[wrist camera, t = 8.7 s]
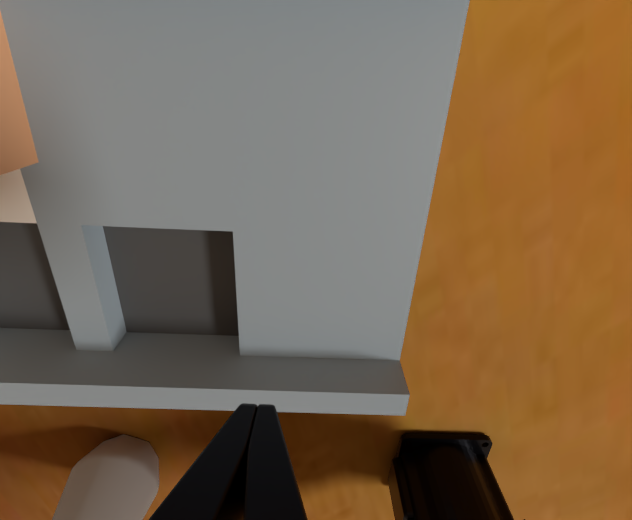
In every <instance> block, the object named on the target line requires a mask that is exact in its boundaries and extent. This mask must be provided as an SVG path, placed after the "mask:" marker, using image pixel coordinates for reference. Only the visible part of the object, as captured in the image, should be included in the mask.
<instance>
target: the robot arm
mask: <svg viewBox="0 0 632 520" xmlns="http://www.w3.org/2000/svg"><path fill="white" fill-rule="evenodd" d="M491 446H492V442H491V440H490V438H489V436H487V435H460V434H422V433H405V434H403V435H402V436H401V437H400V441H399V446H398V450H397V455H396V457H394V458H393V460H392V463H391V468H390V472H389V477H388V484H389V489H390V495H391V500H392V506H393V511H394V517H395V520H514V519H513V516H512V514H511V512H510V510H509V507H508V505H507V503H506V501H505V499H504V496H503V494H502V492H501V490H500V487H499V485H498V483H497V481H496V478H495V476H494V474H493V472H492V469H491V467H490V465H489V463H488V461H487V457H488V454H489V451H490V449H491ZM149 520H307V516H306V513H305V509H304V506H303V502H302V499H301V495H300V492H299V488H298V485H297V481H296V478H295V474H294V471H293V467H292V464H291V460H290V457H289V453H288V450H287V446H286V443H285V439H284V436H283V432H282V429H281V425H280V422H279V418H278V414H277V411H276V408H275V406H274V405H272V404H259V405H258V406H257V405H256V404H248V403H242V404H240V405H239V406H238V408H237V409H236V410H235V411H234V413H233V414H232V415H231V416H230V418H229V419H228V420H227V421H226V423H225V424H224V425H223V426H222V428H221V429H220V430H219V432H218V433H217V434H216V435H215V437H214V438H213V439H212V440H211V442H210V443H209V444H208V445H207V447H206V448H205V449H204V450H203V452H202V453H201V454H200V456H199V457H198V458H197V459H196V461H195V462H194V463H193V464H192V466H191V467H190V468H189V469H188V471H187V472H186V473H185V474H184V476H183V477H182V478H181V479H180V481H179V482H178V483H177V485H176V486H175V487H174V488H173V490H172V491H171V492H170V493H169V495H168V496H167V497H166V498H165V500H164V501H163V502H162V503H161V505H160V506H159V507H158V509H157V510H156V511H155V512H154V514H153V515H152V516H151V517H150V519H149ZM524 520H525V519H524Z"/></svg>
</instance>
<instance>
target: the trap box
mask: <svg viewBox="0 0 632 520" xmlns="http://www.w3.org/2000/svg"><path fill="white" fill-rule="evenodd" d="M469 1H470V0H0V11H1V15H2V19H3V23H4V27H5V31H6V35H7V39H8V43H9V47H10V51H11V55H12V59H13V63H14V67H15V71H16V75H17V79H18V82H19V86H20V90H21V94H22V98H23V102H24V106H25V110H26V114H27V118H28V122H29V126H30V130H31V134H32V138H33V142H34V146H35V150H36V154H37V158H38V161H39V162H38V163H35V164H32V165H29V166H26V167H23V168H20V169H17V170H14V171H12V172H9V173H6V174H3V175H0V404H10V405H46V406H81V407H117V408H153V409H188V410H224V411H235V410H236V409H237V408H238V406H239V405H240V404H242V403H248V404H256V405H257V406H258V405H259V404H272V405H274V406H275V408H276V411H277V412H296V413H331V414H367V415H403V416H405V414H406V409H407V405H408V400H409V396H410V394H409V391H408V387H407V384H406V381H405V377H404V374H403V371H402V367H401V364H400V356H401V350H402V345H403V340H404V335H405V330H406V325H407V320H408V314H409V309H410V304H411V299H412V294H413V289H414V283H415V278H416V273H417V268H418V263H419V258H420V253H421V247H422V242H423V237H424V232H425V227H426V222H427V217H428V211H429V206H430V201H431V196H432V191H433V186H434V181H435V175H436V170H437V165H438V160H439V155H440V150H441V145H442V139H443V134H444V129H445V124H446V119H447V114H448V109H449V103H450V98H451V93H452V88H453V83H454V78H455V73H456V67H457V62H458V57H459V52H460V47H461V42H462V37H463V31H464V26H465V21H466V16H467V11H468V6H469Z"/></svg>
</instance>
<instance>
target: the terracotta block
mask: <svg viewBox="0 0 632 520" xmlns="http://www.w3.org/2000/svg"><path fill="white" fill-rule="evenodd" d="M38 162H39V161H38V158H37V154H36V150H35V146H34V142H33V138H32V134H31V130H30V126H29V122H28V118H27V114H26V110H25V106H24V102H23V98H22V94H21V90H20V86H19V82H18V79H17V75H16V71H15V67H14V63H13V59H12V55H11V51H10V47H9V43H8V39H7V35H6V31H5V27H4V23H3V19H2V15H1V11H0V175H3V174H6V173H9V172H12V171H14V170H17V169H20V168H23V167H26V166H29V165H32V164H35V163H38Z"/></svg>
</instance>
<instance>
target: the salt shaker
mask: <svg viewBox="0 0 632 520" xmlns="http://www.w3.org/2000/svg"><path fill="white" fill-rule="evenodd" d="M158 488H159V459H158V456H157V455H156V453H155V451H154V450H153V448H152V446H151V445H150V443H149V442H147V441H144V440H141V439H138V438H134V437H131V436H128V435H125V434H123V435H120V436H118V437H115V438H112V439H109V440H106V441H103V442H102V443H101V444H100V445H98V446H97V447H96V448H94V449H93V450H92V451H91V452H89V453H88V454H87V455H86V456H84V457H83V458H82V459H81V460H79V461H78V462H77V463H76V465H75V466H74V467H73V468H72V470H71V473H70V475H69V478H68V481H67V483H66V486H65V488H64V491H63V493H62V496H61V498H60V501H59V503H58V506H57V508H56V511H55V514H54V516H53V519H52V520H143V518H144V516H145V514H146V512H147V511H148V509H149V507H150V505H151V503H152V502H153V500H154V498H155V496H156V494H157V492H158Z"/></svg>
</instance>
